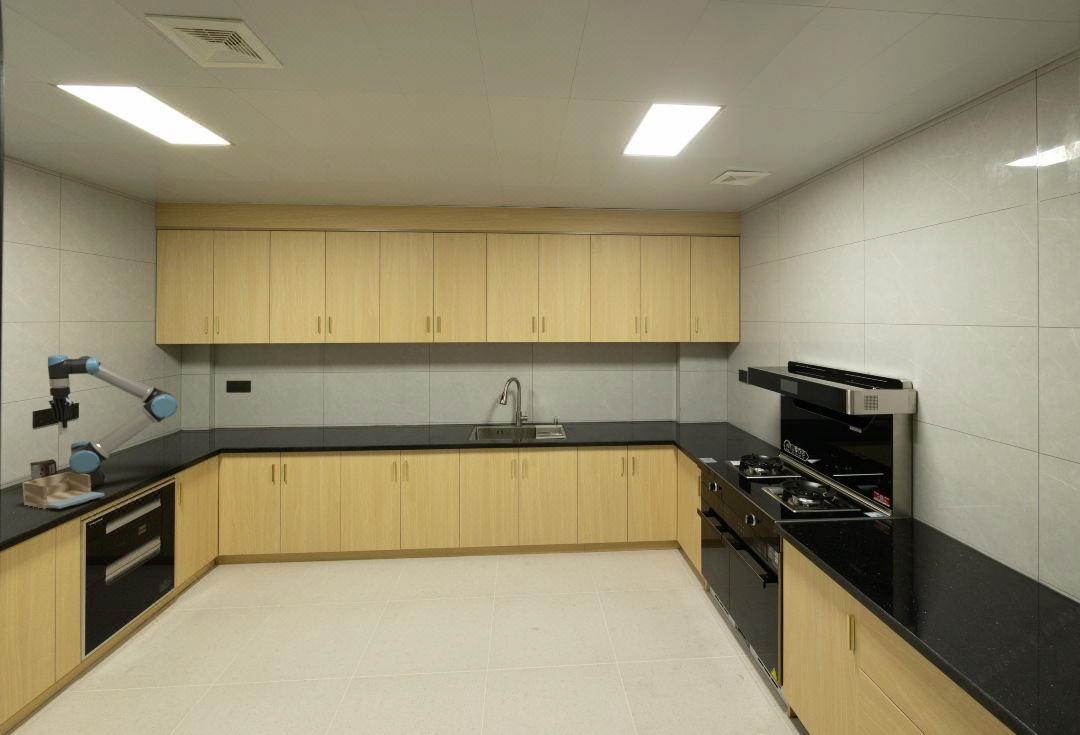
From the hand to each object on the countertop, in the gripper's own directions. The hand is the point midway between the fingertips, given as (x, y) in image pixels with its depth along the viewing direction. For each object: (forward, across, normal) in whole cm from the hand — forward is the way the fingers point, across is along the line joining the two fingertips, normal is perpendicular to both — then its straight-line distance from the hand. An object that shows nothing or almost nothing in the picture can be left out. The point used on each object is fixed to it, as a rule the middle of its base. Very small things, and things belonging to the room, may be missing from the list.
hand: (63, 434), depth 282 cm
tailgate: (+28, +14, -9) cm, 33 cm away
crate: (+30, +6, -9) cm, 32 cm away
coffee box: (+31, -11, -3) cm, 33 cm away
